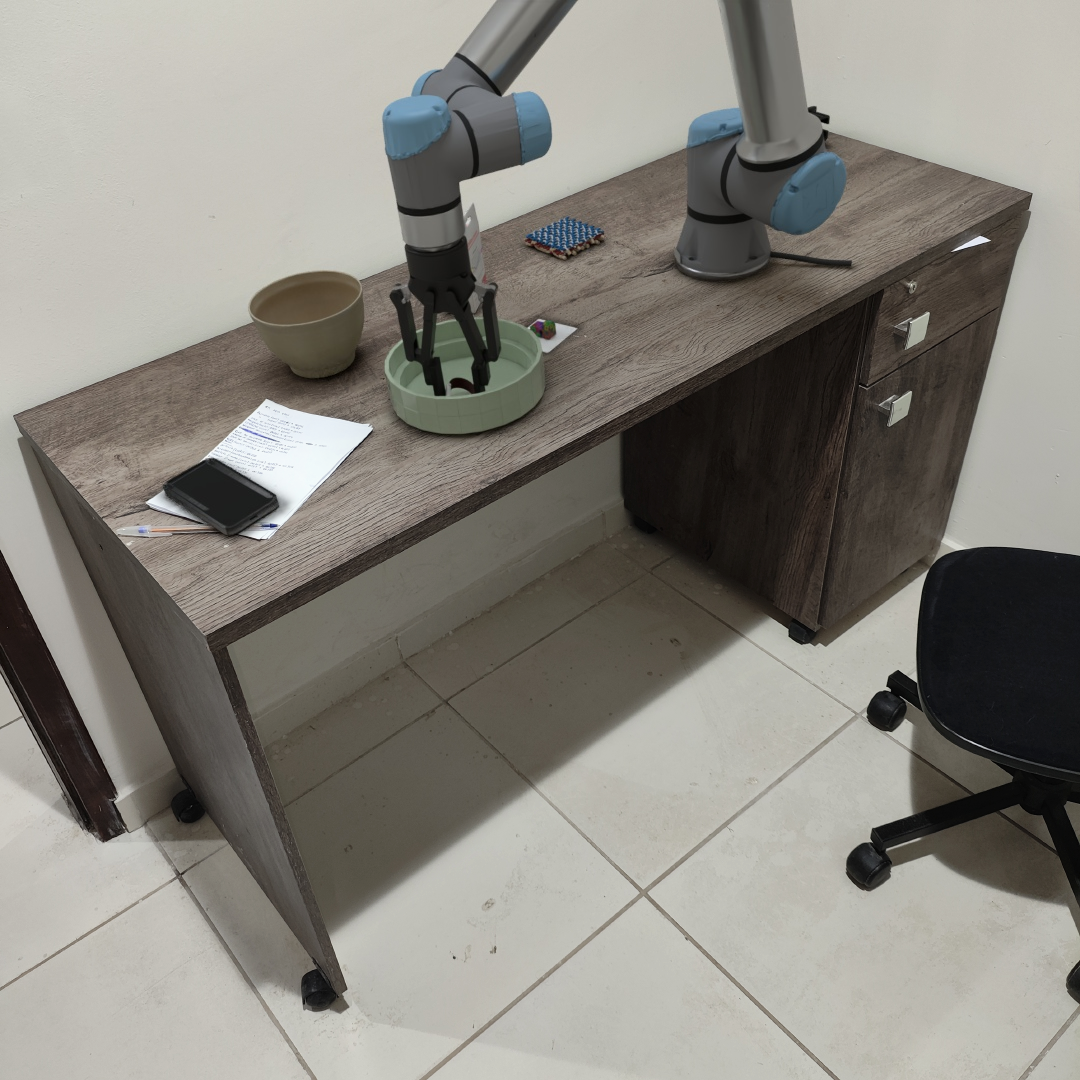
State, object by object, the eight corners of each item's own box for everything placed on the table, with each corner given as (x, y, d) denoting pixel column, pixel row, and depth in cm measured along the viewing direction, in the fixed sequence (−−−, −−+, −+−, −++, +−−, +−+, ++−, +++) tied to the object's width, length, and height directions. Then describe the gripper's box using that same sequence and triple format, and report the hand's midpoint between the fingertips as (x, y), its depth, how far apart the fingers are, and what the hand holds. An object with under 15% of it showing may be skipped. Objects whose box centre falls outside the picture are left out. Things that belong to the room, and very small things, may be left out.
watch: (445, 392, 134) (440, 370, 131) (478, 389, 134) (475, 366, 131) (444, 424, 128) (440, 400, 126) (480, 420, 128) (476, 396, 126)
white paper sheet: (577, 328, 145) (576, 313, 144) (548, 353, 141) (546, 337, 139) (538, 318, 149) (537, 303, 147) (508, 342, 144) (506, 327, 142)
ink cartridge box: (459, 288, 159) (445, 200, 149) (488, 289, 158) (476, 200, 148) (445, 314, 153) (429, 223, 143) (475, 314, 152) (462, 223, 142)
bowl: (555, 354, 140) (552, 316, 136) (532, 438, 125) (528, 399, 121) (414, 354, 144) (407, 317, 140) (374, 436, 128) (365, 397, 124)
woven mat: (522, 246, 169) (521, 234, 168) (566, 225, 174) (565, 214, 173) (562, 262, 163) (561, 250, 162) (607, 240, 168) (607, 229, 167)
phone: (211, 455, 126) (280, 497, 118) (213, 462, 127) (282, 504, 118) (158, 486, 122) (226, 531, 114) (161, 493, 123) (229, 538, 114)
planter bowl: (249, 365, 146) (228, 299, 139) (341, 325, 153) (325, 260, 146) (302, 405, 136) (282, 336, 129) (397, 360, 143) (383, 292, 136)
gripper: (513, 224, 117) (531, 389, 132) (371, 227, 120) (405, 388, 135) (502, 251, 111) (522, 420, 126) (354, 253, 114) (390, 419, 129)
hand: (461, 404), depth 131 cm, fingers closed on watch, 5 cm apart
